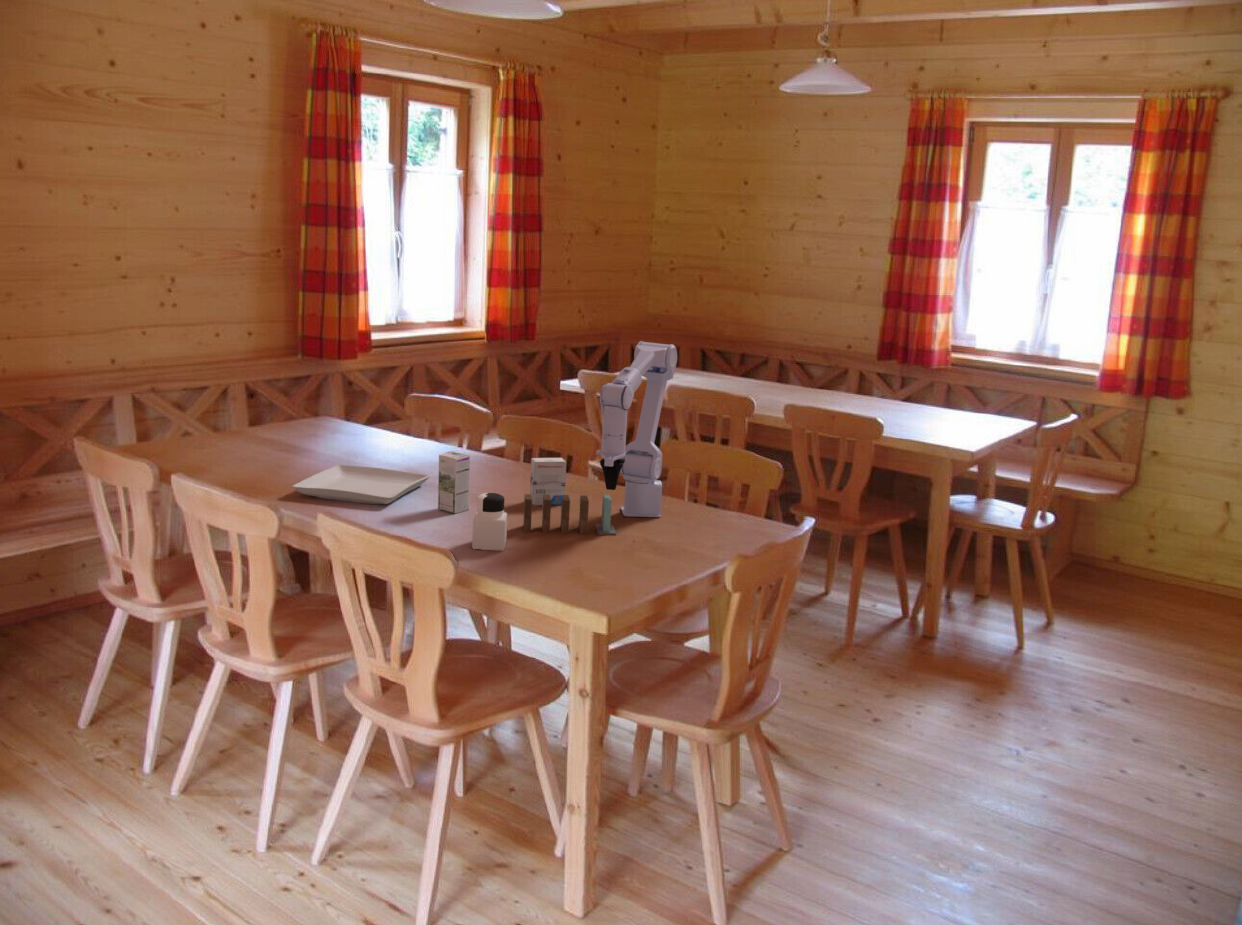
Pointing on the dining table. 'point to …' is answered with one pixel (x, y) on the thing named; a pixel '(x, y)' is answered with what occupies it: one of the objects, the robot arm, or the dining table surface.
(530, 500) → the domino
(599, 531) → the slot pad
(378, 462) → the dining table surface
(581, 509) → the domino
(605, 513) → the teal tile
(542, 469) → the ink box
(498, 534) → the medicine bottle
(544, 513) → the domino
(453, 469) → the syrup box
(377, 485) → the square plate
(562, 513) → the domino
